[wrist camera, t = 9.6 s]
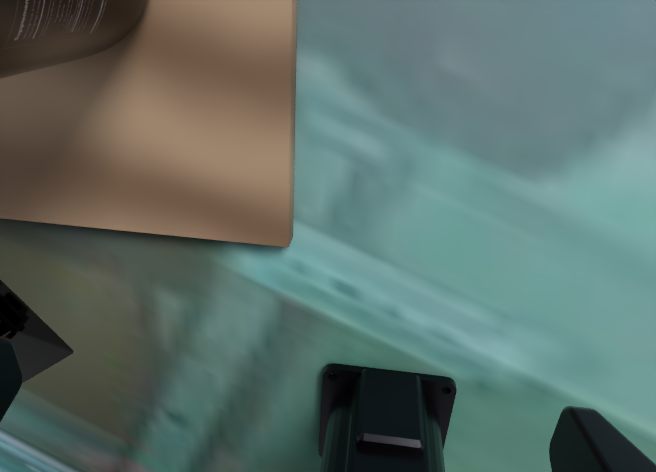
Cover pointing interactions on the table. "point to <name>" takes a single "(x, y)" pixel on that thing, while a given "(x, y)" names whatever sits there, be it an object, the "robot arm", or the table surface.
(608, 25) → the table surface
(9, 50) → the supplement bottle
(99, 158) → the board
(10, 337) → the black block on base
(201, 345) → the table surface
